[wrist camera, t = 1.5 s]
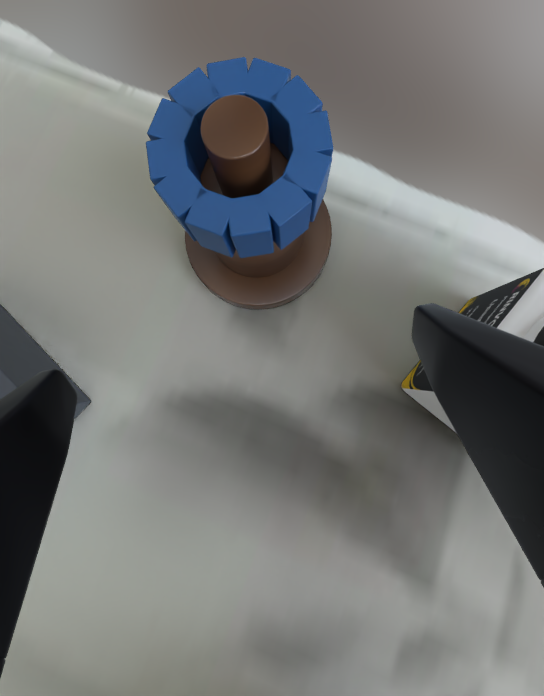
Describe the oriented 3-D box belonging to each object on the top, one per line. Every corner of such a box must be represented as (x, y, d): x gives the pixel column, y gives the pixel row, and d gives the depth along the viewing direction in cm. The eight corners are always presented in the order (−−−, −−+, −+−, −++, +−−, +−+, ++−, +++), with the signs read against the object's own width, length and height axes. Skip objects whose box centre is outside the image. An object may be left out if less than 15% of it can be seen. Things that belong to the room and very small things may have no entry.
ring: (311, 94, 16) (315, 43, 14) (336, 243, 15) (345, 218, 13) (160, 121, 16) (137, 75, 14) (179, 268, 16) (158, 248, 13)
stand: (357, 255, 22) (417, 151, 12) (241, 337, 22) (199, 303, 12) (276, 147, 23) (266, -40, 13) (163, 225, 23) (60, 102, 13)
